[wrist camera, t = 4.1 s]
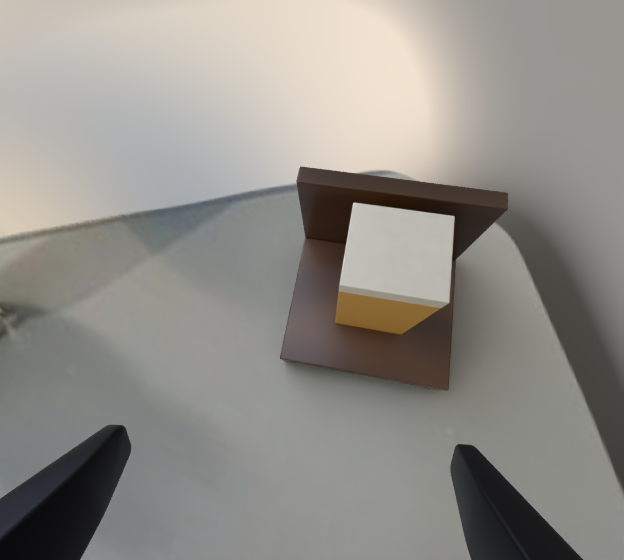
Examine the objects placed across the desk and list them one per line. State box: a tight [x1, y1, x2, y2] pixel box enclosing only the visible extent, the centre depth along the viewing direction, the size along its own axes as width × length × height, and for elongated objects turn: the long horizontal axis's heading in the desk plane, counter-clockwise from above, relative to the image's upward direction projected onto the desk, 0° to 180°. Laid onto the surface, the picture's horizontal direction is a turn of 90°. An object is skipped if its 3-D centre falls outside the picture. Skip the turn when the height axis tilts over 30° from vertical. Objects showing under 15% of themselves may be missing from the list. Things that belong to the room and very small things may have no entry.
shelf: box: [280, 167, 508, 390], centre depth 20 cm, size 10×11×9 cm
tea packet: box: [335, 203, 455, 334], centre depth 18 cm, size 4×4×9 cm
